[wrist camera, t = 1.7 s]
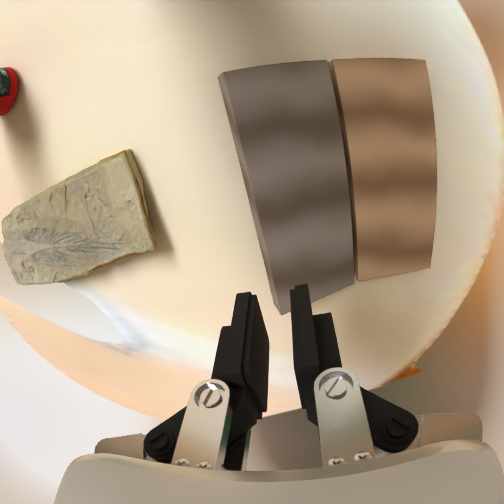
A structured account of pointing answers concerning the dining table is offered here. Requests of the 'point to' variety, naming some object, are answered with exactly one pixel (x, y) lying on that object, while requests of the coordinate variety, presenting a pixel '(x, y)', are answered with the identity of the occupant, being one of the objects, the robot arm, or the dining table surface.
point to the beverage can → (7, 89)
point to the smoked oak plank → (293, 174)
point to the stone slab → (79, 224)
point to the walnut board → (388, 162)
